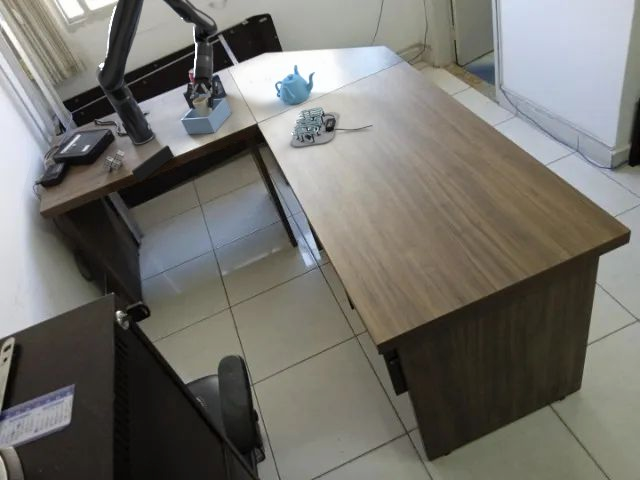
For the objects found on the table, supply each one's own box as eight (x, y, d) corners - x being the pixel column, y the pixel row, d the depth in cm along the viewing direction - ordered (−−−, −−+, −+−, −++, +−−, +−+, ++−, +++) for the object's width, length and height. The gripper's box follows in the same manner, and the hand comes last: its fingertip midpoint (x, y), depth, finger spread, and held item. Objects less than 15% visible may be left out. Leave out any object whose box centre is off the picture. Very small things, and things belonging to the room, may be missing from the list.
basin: (187, 134, 199) (180, 119, 194) (205, 114, 209) (199, 100, 204) (214, 132, 193) (207, 117, 189) (231, 112, 203) (225, 98, 199)
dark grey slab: (172, 155, 188) (166, 145, 185) (174, 156, 187) (168, 145, 184) (138, 181, 179) (131, 170, 176) (139, 182, 179) (133, 171, 175)
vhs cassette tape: (194, 114, 212) (184, 94, 205) (191, 113, 214) (181, 93, 207) (227, 95, 218) (219, 75, 212) (224, 94, 220) (215, 73, 214)
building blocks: (115, 174, 193) (120, 160, 188) (102, 168, 191) (107, 154, 186) (120, 167, 197) (125, 152, 192) (107, 161, 195) (111, 146, 190)
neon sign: (369, 126, 157) (286, 138, 166) (371, 137, 160) (290, 148, 168) (374, 95, 172) (297, 108, 180) (376, 106, 175) (300, 118, 183)
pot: (200, 125, 200) (190, 104, 193) (206, 118, 204) (197, 96, 197) (211, 124, 197) (201, 103, 191) (218, 117, 201) (208, 95, 195)
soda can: (213, 88, 228) (203, 65, 221) (210, 95, 223) (199, 71, 215) (200, 91, 230) (189, 68, 222) (196, 98, 225) (185, 74, 217)
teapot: (274, 101, 201) (266, 78, 194) (304, 85, 204) (297, 62, 198) (290, 110, 190) (282, 87, 183) (321, 94, 194) (315, 70, 187)
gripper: (183, 67, 195) (181, 106, 195) (212, 63, 189) (210, 104, 189) (195, 73, 202) (193, 111, 202) (223, 70, 196) (221, 109, 196)
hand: (201, 108), depth 196 cm, fingers open, 8 cm apart
